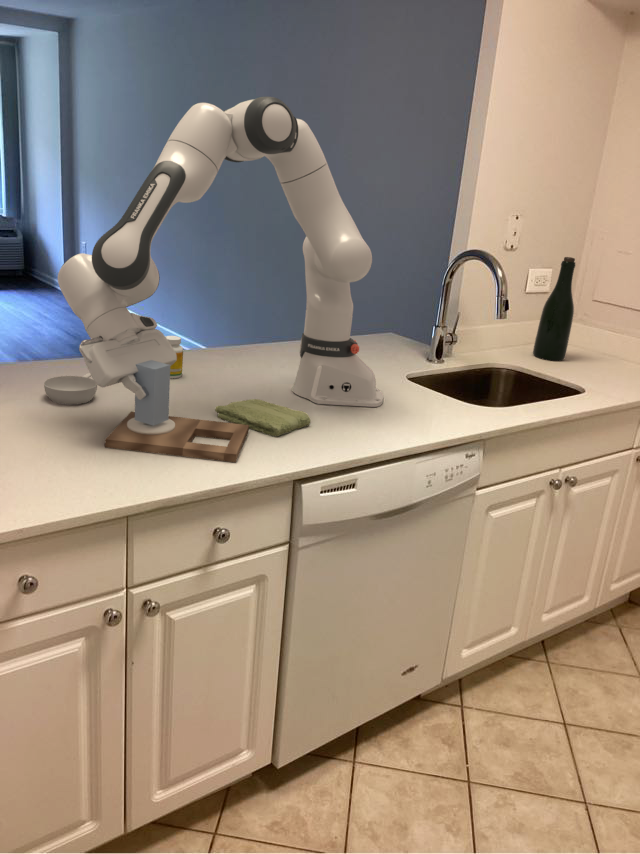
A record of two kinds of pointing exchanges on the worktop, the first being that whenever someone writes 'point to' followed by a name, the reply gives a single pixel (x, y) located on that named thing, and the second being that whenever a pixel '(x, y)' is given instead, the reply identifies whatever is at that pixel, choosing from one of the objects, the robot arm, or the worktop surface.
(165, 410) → the slate block
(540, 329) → the green wine bottle
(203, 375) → the worktop surface
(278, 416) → the washcloth
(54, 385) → the saucepan
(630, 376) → the worktop surface
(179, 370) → the supplement bottle
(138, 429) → the felt coaster
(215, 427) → the walnut board
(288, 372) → the worktop surface
